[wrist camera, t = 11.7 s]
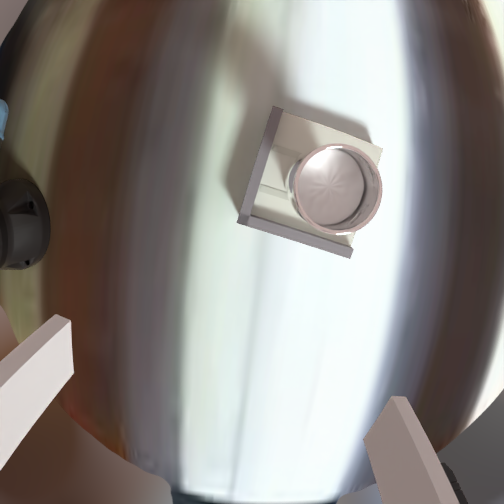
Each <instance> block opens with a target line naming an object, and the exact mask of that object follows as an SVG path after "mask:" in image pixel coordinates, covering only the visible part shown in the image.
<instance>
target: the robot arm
mask: <svg viewBox="0 0 504 504" xmlns="http://www.w3.org/2000/svg"><path fill="white" fill-rule="evenodd" d="M8 113H9V109H8V105H7V104H6V102H5V101H4V100H2V99H0V147H1V143H2V140H4V135H3V134H4V130H5V126H6V122H7V118H8ZM49 239H50V219H49V213H48V209H47V206H46V203H45V201H44V198H43V196H42V195H41V193H40V191H39V190H38V189H37V188H36V186H35V185H33V184H32V183H31V182H29V181H27V180H25V179H13V180H8V181H5V182H3V183H1V184H0V270H22V269H26V268H29V267H31V266H33V265H35V264H36V263H38V262H39V261H40V260H41V259H42V258H43V256H44V254H45V252H46V250H47V247H48V244H49ZM73 373H74V370H73V357H72V340H71V320H68V319H66V318H64V317H61V316H59V315H56V314H55V315H54V316H53V317H52V318H51V319H49V320H48V321H47V322H46V323H44V324H43V325H42V326H41V327H40V328H38V329H37V330H36V331H35V332H34V333H33V334H31V335H30V336H29V337H28V338H27V339H25V340H24V341H23V342H22V343H21V344H20V345H19V346H17V347H16V348H15V349H14V350H13V351H12V352H11V353H9V354H8V355H7V356H6V357H5V358H4V359H3V360H2V361H1V362H0V470H1V469H2V467H3V466H4V464H5V463H6V462H7V460H8V459H9V457H10V456H11V454H12V453H13V452H14V450H15V449H16V448H17V446H18V445H19V443H20V442H21V440H22V439H23V438H24V437H25V435H26V434H27V433H28V431H29V430H30V428H31V427H32V426H33V424H34V423H35V422H36V420H37V419H38V418H39V416H40V415H41V414H42V413H43V411H44V410H45V409H46V407H47V406H48V405H49V404H50V402H51V401H52V400H53V398H54V397H55V396H56V395H57V393H58V392H59V391H60V390H61V388H62V387H63V386H64V385H65V383H66V382H67V381H68V380H69V378H70V377H71V376H72V375H73ZM363 440H364V443H365V446H366V450H367V453H368V456H369V459H370V462H371V466H372V469H373V472H374V475H375V479H376V482H377V485H378V489H379V492H380V496H381V499H382V502H383V504H468V502H467V500H466V498H465V496H464V494H463V492H462V490H460V489H461V488H460V486H459V484H458V483H457V480H456V477H455V475H454V474H453V471H452V470H451V469H450V468H449V467H448V466H447V465H446V464H445V463H440V461H439V460H438V457H437V455H436V453H435V451H434V449H433V447H432V445H431V443H430V441H429V440H428V438H427V436H426V434H425V432H424V430H423V428H422V426H421V424H420V422H419V420H418V419H417V417H416V415H415V413H414V411H413V409H412V407H411V405H410V404H409V402H408V400H407V398H406V397H399V396H391V398H390V399H389V401H388V403H387V404H386V406H385V407H384V409H383V411H382V412H381V414H380V415H379V417H378V418H377V420H376V421H375V423H374V424H373V426H372V427H371V429H370V430H369V432H368V433H367V435H366V436H365V437H364V439H363Z"/></svg>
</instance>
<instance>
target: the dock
mask: <svg viewBox="0 0 504 504" xmlns="http://www.w3.org/2000/svg"><path fill="white" fill-rule="evenodd" d="M331 143H343V144H348V145H351V146H354V147H356V148H358V149H360V150H361V151H363V152H364V153H365V154H366V155H368V156H369V157H370V159H371V160H372V161H373V162H374V164H375V165H376V167H377V166H378V163H379V160H380V156H381V153H382V149H383V148H380V147H378V146H376V145H373V144H371V143H369V142H366V141H364V140H361V139H359V138H356V137H354V136H351V135H349V134H346V133H343V132H341V131H338V130H335V129H333V128H330V127H327V126H325V125H322V124H319V123H316V122H313V121H310V120H307V119H304V118H301V117H298V116H295V115H292V114H289V113H286V112H283V109H281V108H278V107H275V106H273V108H272V111H271V114H270V117H269V120H268V123H267V126H266V129H265V133H264V136H263V139H262V142H261V145H260V148H259V152H258V155H257V158H256V161H255V164H254V168H253V171H252V174H251V177H250V181H249V184H248V187H247V190H246V194H245V197H244V200H243V204H242V207H241V210H240V213H239V217H238V220H237V223H239V224H242V225H245V226H248V227H252V228H255V229H258V230H261V231H265V232H268V233H271V234H274V235H277V236H281V237H284V238H287V239H290V240H293V241H297V242H300V243H303V244H306V245H309V246H312V247H315V248H318V249H322V250H325V251H328V252H331V253H334V254H337V255H340V256H343V257H346V258H349V259H350V257H351V255H352V252H353V248H351V247H350V246H351V243H352V241H353V238H354V235H355V232H356V231H355V232H352V233H349V234H344V235H333V234H328V233H324V232H322V231H319V230H317V229H316V228H314V227H313V226H311V225H310V224H309V223H307V222H306V221H304V220H303V219H302V218H301V217H300V216H299V215H298V214H297V213H296V212H295V210H294V209H293V207H292V205H291V203H290V201H289V198H288V195H287V191H286V187H285V176H286V172H287V170H288V168H289V167H290V165H291V164H292V163H293V162H294V161H295V159H296V158H297V157H298V156H299V155H300V154H302V153H303V152H304V151H306V150H308V149H310V148H312V147H315V146H318V145H322V144H331Z"/></svg>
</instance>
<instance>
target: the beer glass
mask: <svg viewBox="0 0 504 504" xmlns="http://www.w3.org/2000/svg"><path fill="white" fill-rule="evenodd" d="M285 187H286V191H287V195H288V198H289V201H290V203H291V205H292V207H293V209H294V210H295V212H296V213H297V214H298V215H299V216H300V217H301V218H302V219H303V220H304V221H306V222H307V223H309V224H310V225H311V226H313V227H314V228H316V229H317V230H319V231H322V232H324V233H328V234H333V235H344V234H349V233H352V232H355V231H357V230H359V229H361V228H362V227H364V226H365V225H366V224H367V223H369V221H370V220H371V219H372V218H373V217H374V215H375V214H376V212H377V210H378V208H379V205H380V202H381V198H382V182H381V177H380V174H379V171H378V169H377V167H376V165H375V164H374V162H373V161H372V160H371V159H370V157H369V156H368V155H366V154H365V153H364V152H363V151H361V150H360V149H358V148H356V147H354V146H351V145H348V144H343V143H331V144H322V145H318V146H315V147H312V148H310V149H308V150H306V151H304V152H303V153H302V154H300V155H299V156H298V157H297V158H296V159H295V161H294V162H293V163H292V164H291V165H290V167H289V168H288V170H287V172H286V176H285Z"/></svg>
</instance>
